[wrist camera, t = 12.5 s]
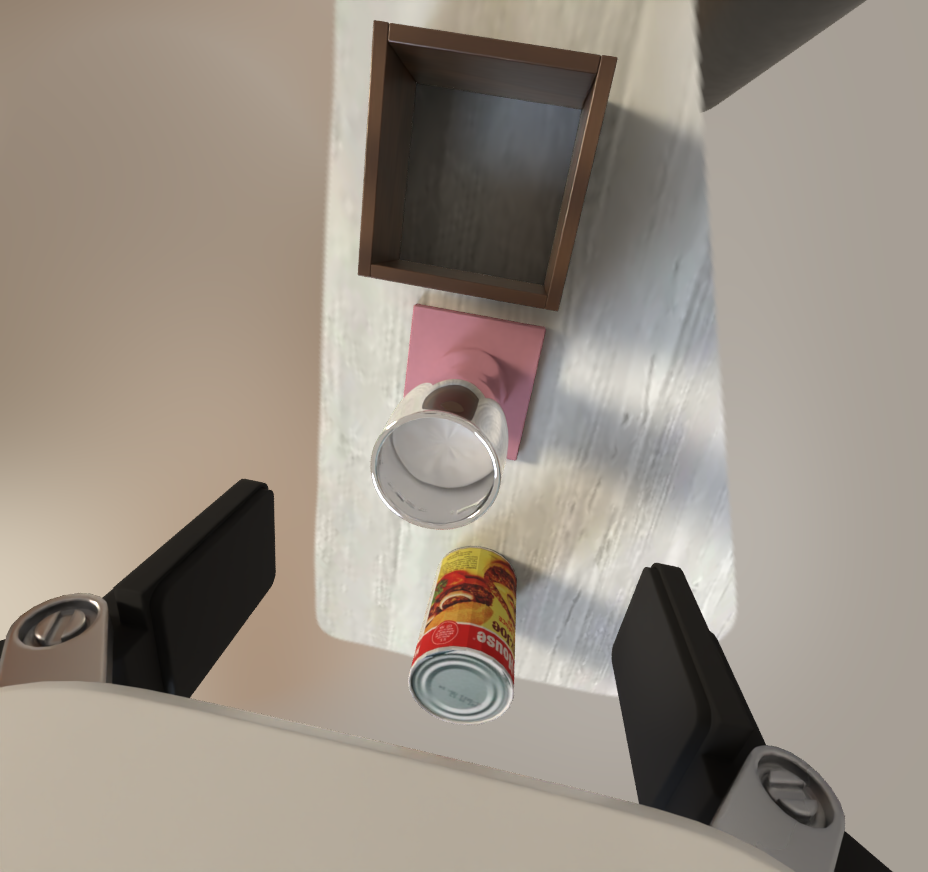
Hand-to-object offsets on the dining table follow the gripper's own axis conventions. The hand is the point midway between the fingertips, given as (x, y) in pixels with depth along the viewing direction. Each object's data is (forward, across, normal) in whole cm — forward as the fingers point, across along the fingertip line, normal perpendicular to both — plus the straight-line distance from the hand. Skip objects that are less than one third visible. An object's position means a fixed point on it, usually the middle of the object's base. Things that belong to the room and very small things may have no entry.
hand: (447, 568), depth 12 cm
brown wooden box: (+27, +3, -10) cm, 29 cm away
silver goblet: (+26, +2, +4) cm, 26 cm away
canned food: (+27, -2, +23) cm, 35 cm away
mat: (+27, +2, +4) cm, 27 cm away
